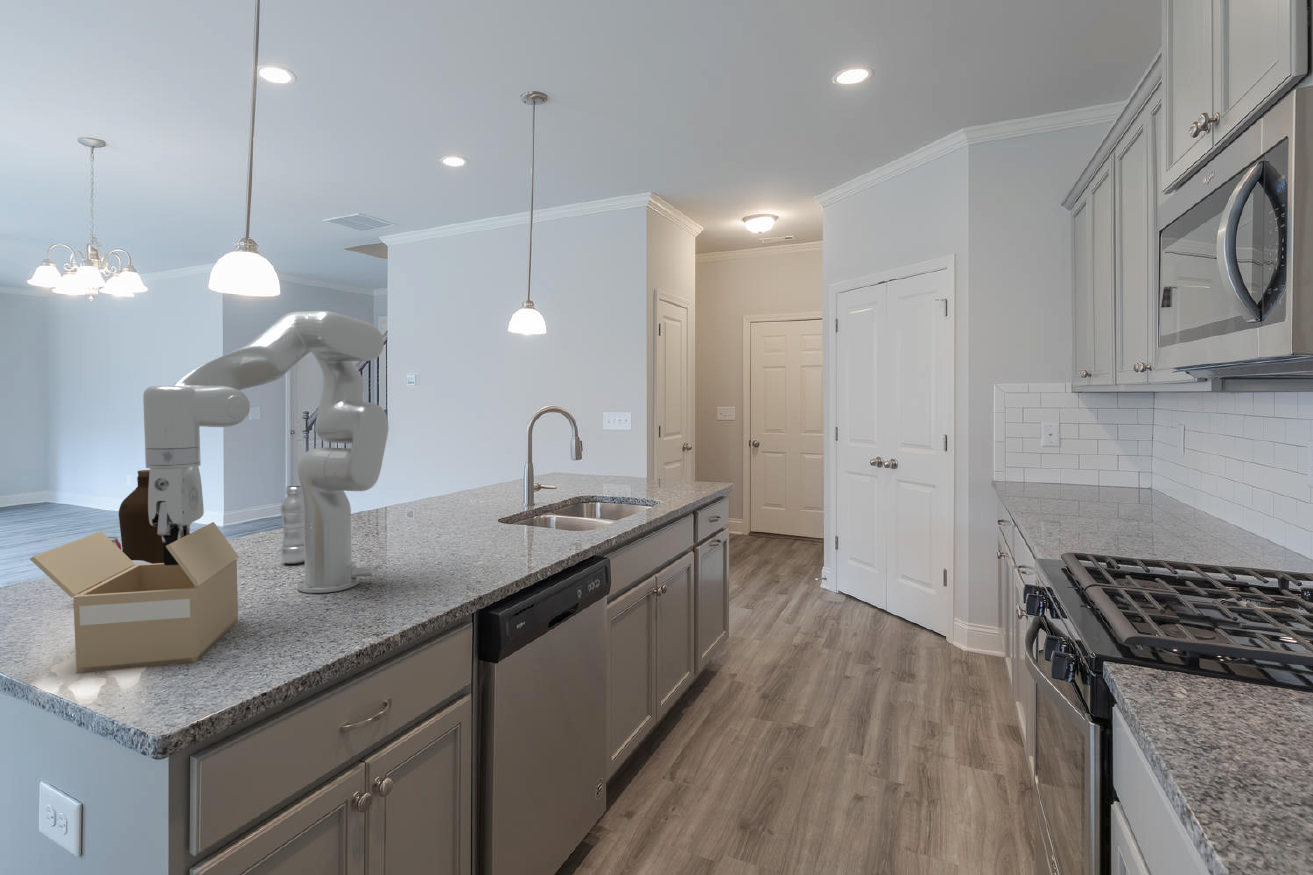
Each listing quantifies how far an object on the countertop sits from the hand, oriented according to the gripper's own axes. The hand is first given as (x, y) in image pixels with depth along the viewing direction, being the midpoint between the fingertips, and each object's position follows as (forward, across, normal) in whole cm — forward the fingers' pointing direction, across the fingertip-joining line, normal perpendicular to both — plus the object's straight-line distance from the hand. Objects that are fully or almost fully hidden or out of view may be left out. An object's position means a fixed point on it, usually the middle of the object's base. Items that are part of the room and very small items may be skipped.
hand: (176, 563), depth 110 cm
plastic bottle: (+14, +55, -6) cm, 57 cm away
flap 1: (-1, 0, +12) cm, 13 cm away
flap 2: (-2, 0, -4) cm, 4 cm away
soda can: (+14, +31, +25) cm, 42 cm away
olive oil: (+14, +53, +25) cm, 60 cm away
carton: (+14, 0, +2) cm, 14 cm away
